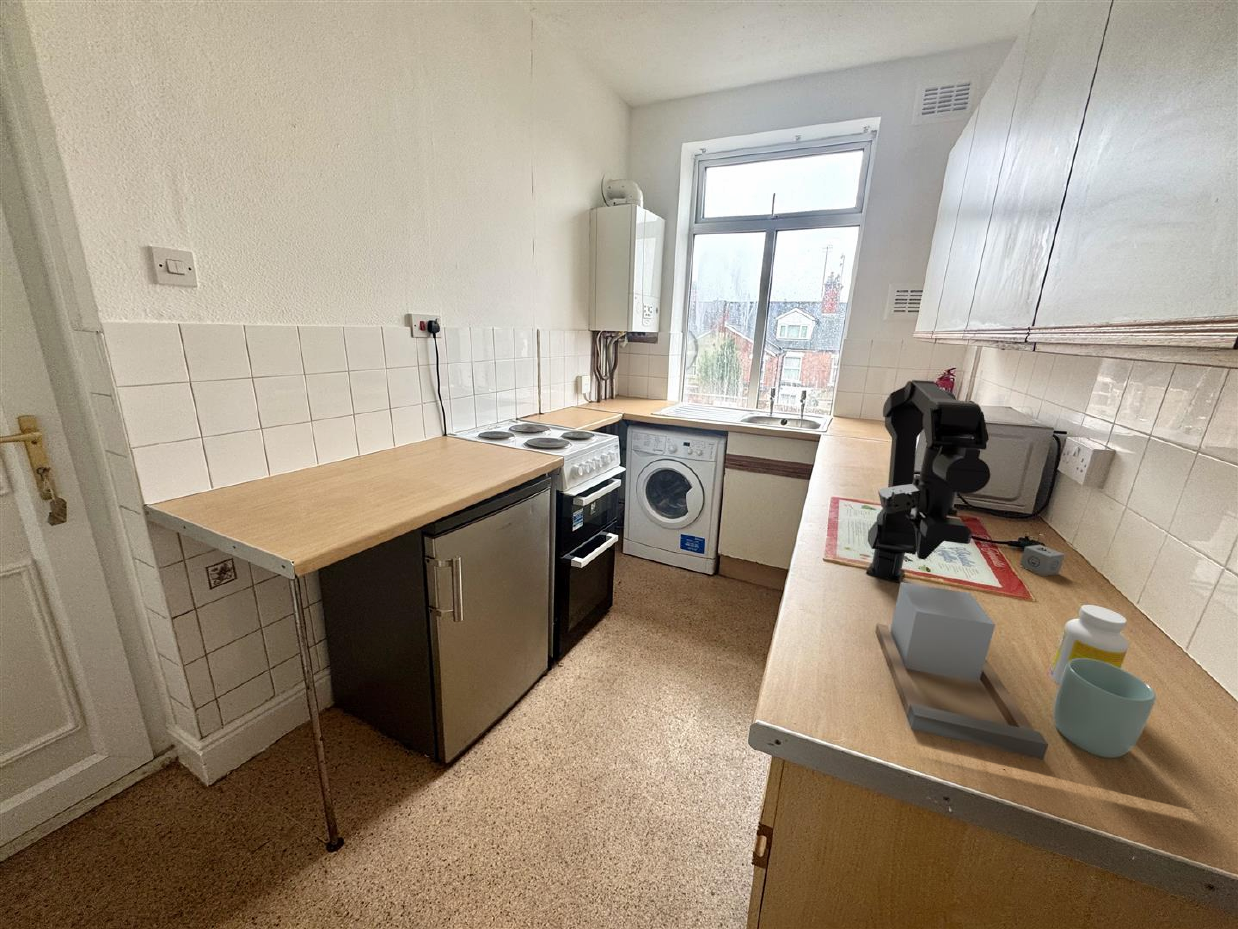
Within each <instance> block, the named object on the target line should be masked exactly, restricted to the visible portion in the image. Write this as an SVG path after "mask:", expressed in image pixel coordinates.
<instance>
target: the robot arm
mask: <svg viewBox="0 0 1238 929" xmlns="http://www.w3.org/2000/svg"><path fill="white" fill-rule="evenodd" d="M882 416H883V418H884V427H885V429H886V431H887V432H888V434H889V435H890V437H891V447H890V449H891V450H890V457H889V458H890V461H889V472H888V483H887V484H888V485H887V487H885V488H881V489H878V490H877V491H878V496H879V500H880V505H881V508H882V509H881V510H880V511H879V513H878V514H877V516H876V521H875V522H874V523H873V524H872V526H871V527H870V529H869V530H868V531H867V542H868V544H869V546H870V548H871V549H872V550H874V552H873V556H872V561H871V563H870V565H869V566H868V568H867V569H866V571H865V573H866V574H868V575H871V576H874V577H878V578H881V579H884V580H887V581H890V582H894V583H897V584H899V583H901V582H902V581H901V580H902V578H903V577H904V574H905V570H904V569H903V566H904V560H905V555H906V554H910V555H914V556H915V555H916V556H917V559H918V560H923V561H924V560H926V559H927V558H928V557H930V555H931V554H933V552H934V551H935V550H936V549H938V547H939V546H940V545H941V544H942V543H943V542H950V543H956V544H964V545H968V544H970V543H971V540H972V535H973V531H972V530H971V529H970V528H969V527H968V525H966V524H965V523H964V521H962V520H961V519H960V518H959V517H958V518H956V517H957V515H958V509H957V508H955V507H954V505H955V502H956V498H957V494H958V493H959V494H973V493H977V492H979V491H980V490H983V489H984V488H985V487H986V486H987V485H988V483H989V481H990V479H991V472H990V471H991V470H990V467H989V465H988V464H987V462H985V461H984V460H983V459H981V458H980V455H981V451H982V450H984V451H986V450H987V447H988V446H987V443H988V441H989V440H990V438H989V433H988V432H989V431H988V428H987V422H986V418H985V415H984V412H983V410H982V408H981V406H980V405H979V404H978V403H975V402H971V401H965V400H961V399H954V398H953V397H952V396H950V395H949V394H948V393H947V392H945V391H944V390H943V389H942V388H941V387H940V386H939V383H938V382H936V381H934V380H923V379H922V380H919V379H918V380H917V379H912V380H911V381H910V380H908V381H907V382H906V384H905V385H904V386H902V387H901V388H899V389H896V390H895V391H892V392H891V393H890V394H889V396H888V397H887V399H886V400H885V402H884V405H883V408H882ZM923 431H924V438H925V443H926V445H925V449H924V454H923V458H922V463H921V468H920V472H919V475H915V468H916V467H915V466H916V454H917V443H918V442H917V441H918V436H919V435H920V434H921V433H922V432H923ZM950 516H951V517H950ZM952 516H953V517H952Z"/></svg>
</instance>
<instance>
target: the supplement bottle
mask: <svg viewBox="0 0 1238 929" xmlns="http://www.w3.org/2000/svg"><path fill="white" fill-rule="evenodd" d="M1078 614H1079V618H1073V619H1070V620H1069V621H1067V622H1066V624H1065V626H1064V628H1063V631H1062V634H1061V638H1060V640H1059V641H1060V642H1059V644H1058V648H1057V650H1056V653H1055V655H1054V656H1055V657H1054V660H1053V662H1052V666H1051V669H1050V672H1049V675H1050V678H1051V679H1052V681H1053V682H1054V683H1056V685H1058V686H1059V684H1060V681H1061V678H1062V675H1063V672H1064V669H1065V667H1066V665H1067V663H1068V662H1069V661H1070V660H1073V659H1077V658H1087V659H1094V660H1098V661H1102V662H1105V663H1108V664H1111V665H1113V666H1116V667H1118V668H1121V669H1122V665H1123V663H1124V660H1125V657H1126V655H1127V653H1128V649H1129V642H1128V639H1127V638H1126V637H1125V635H1124V634H1123V633H1121V632H1122V631H1123V630H1124V629H1125V628H1126V624H1127V619H1126V618H1125V617H1124V616H1123V615H1121V613H1118V612H1115V611H1114V610H1111V609H1108V608H1105V607H1102V606H1098V605H1093V604H1083V605H1081V607H1080V609H1079V612H1078Z"/></svg>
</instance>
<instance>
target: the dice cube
mask: <svg viewBox="0 0 1238 929" xmlns="http://www.w3.org/2000/svg"><path fill="white" fill-rule="evenodd" d="M1065 555H1066V554H1065V553H1063V552H1060V551H1058V550H1055V549H1053V548H1050V547H1048V546H1044V545H1042V544H1037V545H1035V544H1034V545H1028V546H1024V548H1023V552H1022V555H1021V559H1020V562H1019V565H1021V566H1023V567H1024V568H1023V569H1025V568H1027V569H1029V570H1032V571H1034V572H1036V573H1038V574H1039V575H1038V574H1037V575H1038V576H1041V575H1042V576H1041V577H1043V576H1044V577H1048V576H1047V575H1050V576H1053V575H1052V574H1056V575H1059V574H1060V572H1061V568H1062V564H1063V562H1064V558H1065ZM1027 569H1026V570H1027ZM1029 570H1028V571H1029ZM1034 572H1033V573H1034ZM1036 573H1035V574H1036ZM1058 573H1059V574H1058Z"/></svg>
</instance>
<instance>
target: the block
mask: <svg viewBox="0 0 1238 929" xmlns="http://www.w3.org/2000/svg"><path fill="white" fill-rule="evenodd" d="M995 626H996V624H995V622H994V621H993V620H992V618H991V617H990V616H989V614H988V613H986V611H985V610H984V609H983V607H982V606H981V604H980V603H979V602H978V601H977V599H976V598H975V597H974V596H973V595H972V593H971V592H966V591H959V590H955V589H947V588H946V589H945V588H941V587H934V586H927V585H921V584H915V583H907V582H903V581H900V584H899V589H898V594H897V597H896V604H895V607H894V611H893V617H892V621H891V627H890V629H889V631H890V633H891V636H892V638H893V640H894V643H895V645H896V648H897V650H898V652H899V655H900V657H901V659H902V662H903V664H904V667H905V668H906V669H911V670H916V671H921V672H926V673H931V674H936V675H941V676H946V677H951V678H956V679H961V680H966V681H971V682H976V683H979V680H980V677H981V673H982V670H983V666H984V663H985V659H986V658H987V656H988V651H989V648H990V645H991V640H992V638H993V634H994V632H995ZM986 660H987V659H986Z"/></svg>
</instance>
